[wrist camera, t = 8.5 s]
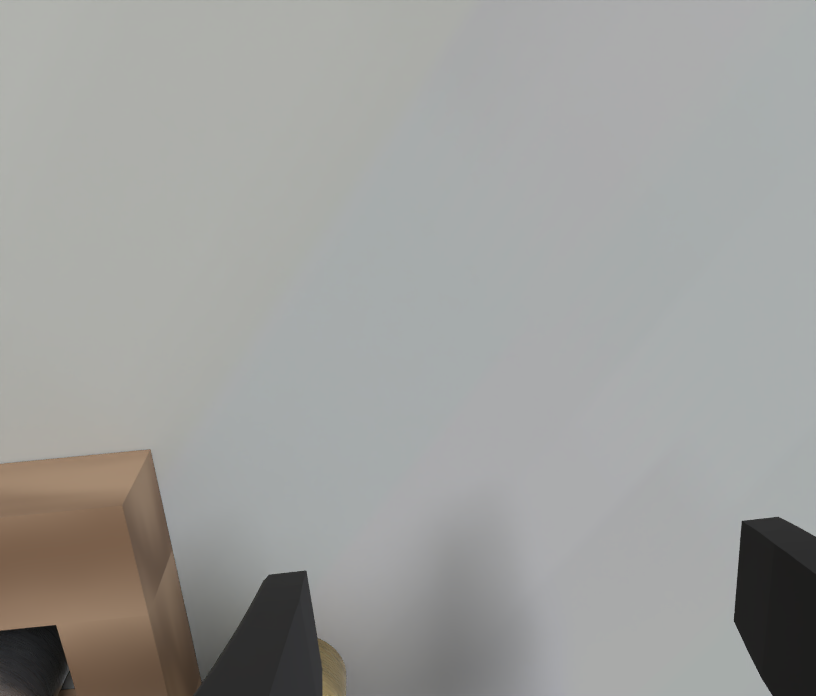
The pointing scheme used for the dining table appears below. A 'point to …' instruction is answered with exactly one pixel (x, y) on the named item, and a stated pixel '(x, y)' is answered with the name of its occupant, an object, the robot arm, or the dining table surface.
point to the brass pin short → (332, 670)
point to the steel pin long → (32, 662)
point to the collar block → (96, 572)
